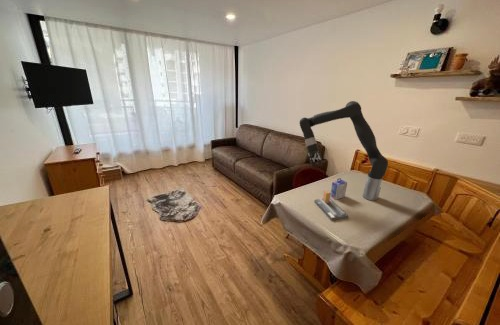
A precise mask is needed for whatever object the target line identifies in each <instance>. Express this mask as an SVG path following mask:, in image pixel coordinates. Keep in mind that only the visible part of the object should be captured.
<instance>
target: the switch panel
mask: <svg viewBox="0 0 500 325" xmlns="http://www.w3.org/2000/svg"><path fill="white" fill-rule="evenodd" d="M314 204H315V205H316V206H317V207H318V208H319V209H320V210H321V211H322V213H324V215H326V217H327V218H328V219H329V220H330V221H336V220H337V221H338V220H344V219H348V218H349V215H348V213H347V212H346V211H344V210H343V208H341V207H340V206H339V205H338V204H337V203H336V202H335V201H334V200H333V199H331V198H330V200H329V203H325V202H324V201H323V198H321V197H319V198H317V199H314Z"/></svg>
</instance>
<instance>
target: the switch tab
mask: <svg viewBox="0 0 500 325" xmlns="http://www.w3.org/2000/svg"><path fill="white" fill-rule="evenodd" d="M322 197H323V198H322V199H323V201H324V202H325V203H329V200H330V199H331V191H329V190H324V191H323V196H322Z"/></svg>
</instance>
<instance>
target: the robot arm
mask: <svg viewBox="0 0 500 325" xmlns="http://www.w3.org/2000/svg"><path fill="white" fill-rule="evenodd" d="M348 118H349V119H350V120H351V122H352V124H353V128H354V131H355V133H356V137H357V138H358V140H359V142H360V144H361V145H362V147H363V148H364V151H365V152H366V155H367V158H368V160H369V163H370V165H371V170H370V171H368V172H367V177H366V180H365V183H364V188H363V189H364V190H363V192H362V193H363V194H362V197H363V198H364V199H365V200H367V201H376V200H378V199H379V196H380V192H381V185H382V181H383V177H384V176H385V174H386V172H387V168H388V166H389V161H388V159H387V158H386V157H384V156H385V155H383V154H382V153H381V151H380V150H379V147H378V146H377V138H376V137H375V133H374V132H373V129H372V127H371V126H370V125H369V123H368V121H367V120H366V118H365V117H364V115H363V111H362V106H361V105H360V102H358V101H355V100H350V101H349V102H347V103H346V105H345V106H344V107H342V108H339V109H335V110H330V111H324V112H321V113H318V114H317V113H316V114H314V115H313V116H311V117H308V118H307V117H302V118H300V121H299V126H300V129H301V132H302V134H303V139H304V141H305V142H304V143H305V146H306V150H307V154H306V155H307V158H308V159H307V160H308V162H309V163H311V165H312V168H316V167H317V165H316V161H315V160H317V164H318V166H319V167H321V166H323V163H322V160H323V156H322V153H321V151H319V146H318V143H317V140H316V138H315V133H314V131H313V129H312V127H315V126H317V125H321V124H325V123H328V122H331V121H332V122H333V121H336V120H340V119H348Z"/></svg>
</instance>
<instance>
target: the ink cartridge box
mask: <svg viewBox="0 0 500 325" xmlns="http://www.w3.org/2000/svg"><path fill="white" fill-rule="evenodd" d="M347 187H348V181H345V180H343V179H342V177H341V178H340V177H339V178H337V179H336V181H332V183H331V190H330V193H331V194H330V198H332V200H333V199H334V200H338V199H342V198H345V197H346V192H347Z"/></svg>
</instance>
